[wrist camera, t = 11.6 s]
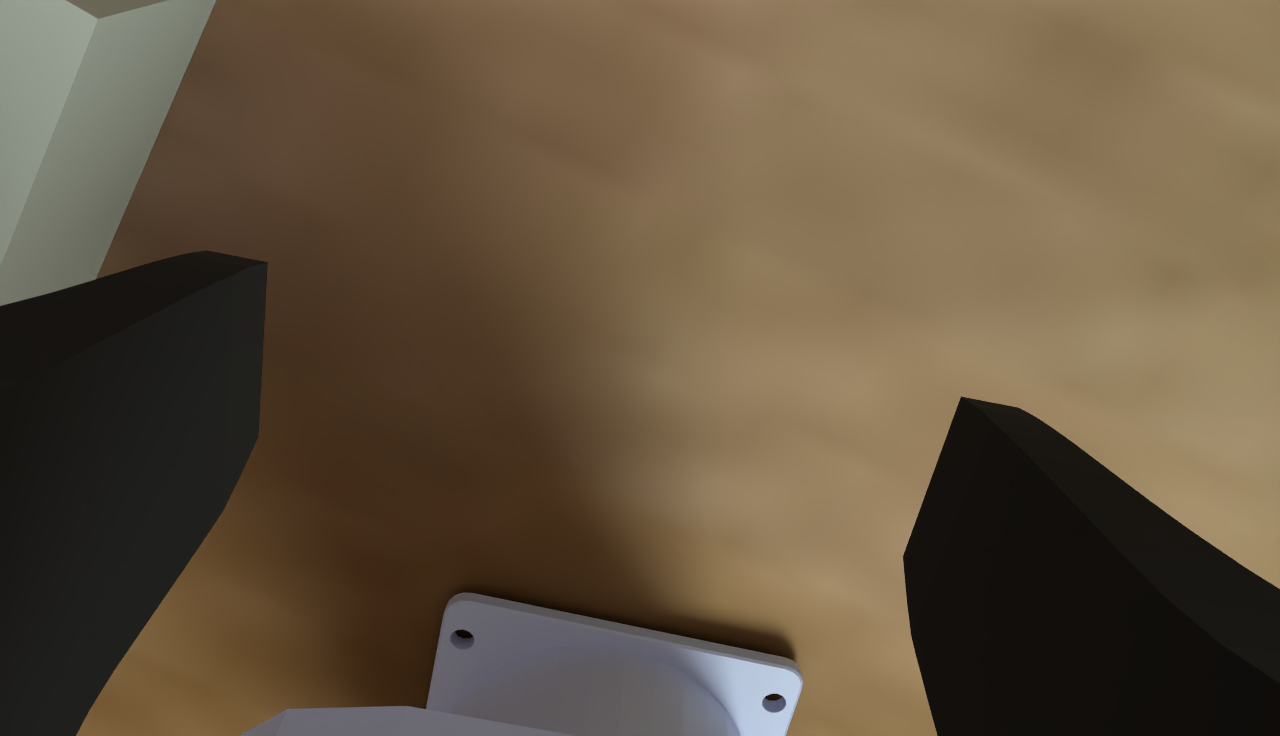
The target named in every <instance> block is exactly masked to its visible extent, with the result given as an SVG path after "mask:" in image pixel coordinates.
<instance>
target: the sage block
mask: <svg viewBox="0 0 1280 736" xmlns="http://www.w3.org/2000/svg"><path fill="white" fill-rule="evenodd" d="M215 2H216V0H0V306H2V305H6V304H10V303H13V302H17V301H21V300H25V299H29V298H33V297H37V296H40V295H44V294H48V293H52V292H55V291H59V290H62V289H65V288H69V287H72V286H75V285H79V284H82V283H85V282H89V281H92V280H95V279H96V277H97V275H98V273H99V270H100V268H101V266H102V263H103V261H104V259H105V256H106V254H107V252H108V249H109V247H110V245H111V243H112V240H113V238H114V236H115V233H116V231H117V229H118V226H119V224H120V222H121V219H122V217H123V215H124V212H125V210H126V208H127V206H128V203H129V201H130V199H131V196H132V194H133V192H134V189H135V187H136V185H137V182H138V180H139V178H140V175H141V173H142V171H143V169H144V166H145V164H146V162H147V159H148V157H149V155H150V152H151V150H152V148H153V145H154V143H155V141H156V138H157V136H158V134H159V132H160V129H161V127H162V125H163V122H164V120H165V118H166V115H167V113H168V111H169V108H170V106H171V104H172V101H173V99H174V97H175V95H176V92H177V90H178V88H179V85H180V83H181V81H182V78H183V76H184V74H185V71H186V69H187V67H188V64H189V62H190V60H191V58H192V55H193V53H194V51H195V48H196V46H197V44H198V41H199V39H200V37H201V34H202V32H203V30H204V27H205V25H206V23H207V21H208V18H209V16H210V14H211V11H212V9H213V7H214V4H215Z"/></svg>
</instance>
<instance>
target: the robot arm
mask: <svg viewBox="0 0 1280 736" xmlns="http://www.w3.org/2000/svg"><path fill="white" fill-rule="evenodd" d="M267 263H268V262H263V261H258V260H253V259H248V258H242V257H237V256H232V255H227V254H222V253H217V252H211V251H201V252H193V253H188V254H183V255H179V256H174V257H170V258H167V259H163V260H159V261H156V262H152V263H149V264H145V265H142V266H139V267H135V268H132V269H129V270H125V271H122V272H119V273H115V274H112V275H109V276H105V277H102V278H99V279H95V280H92V281H89V282H85V283H82V284H79V285H75V286H72V287H69V288H65V289H62V290H59V291H55V292H52V293H48V294H44V295H40V296H37V297H33V298H29V299H25V300H21V301H17V302H13V303H10V304H6V305H2V306H0V736H76V734H77V733H78V731H79V729H80V727H81V725H82V723H83V721H84V719H85V717H86V716H87V714H88V712H89V710H90V708H91V707H92V705H93V704H94V702H95V700H96V699H97V697H98V695H99V694H100V692H101V691H102V689H103V687H104V686H105V684H106V683H107V681H108V679H109V678H110V676H111V674H112V673H113V671H114V670H115V668H116V667H117V665H118V664H119V663H120V661H121V660H122V658H123V657H124V655H125V654H126V652H127V651H128V649H129V648H130V647H131V645H132V644H133V642H134V641H135V639H136V638H137V636H138V635H139V633H140V632H141V631H142V629H143V628H144V626H145V625H146V623H147V622H148V620H149V619H150V618H151V616H152V615H153V613H154V612H155V610H156V609H157V607H158V606H159V604H160V603H161V602H162V600H163V599H164V597H165V596H166V594H167V593H168V591H169V590H170V589H171V587H172V586H173V584H174V583H175V581H176V580H177V578H178V577H179V576H180V574H181V573H182V571H183V570H184V568H185V567H186V565H187V564H188V562H189V561H190V559H191V558H192V556H193V555H194V553H195V552H196V551H197V549H198V548H199V546H200V545H201V543H202V542H203V540H204V539H205V537H206V536H207V534H208V533H209V531H210V530H211V528H212V527H213V525H214V524H215V522H216V521H217V519H218V518H219V516H220V515H221V513H222V512H223V510H224V508H225V506H226V504H227V502H228V500H229V498H230V496H231V494H232V492H233V490H234V488H235V486H236V484H237V482H238V479H239V477H240V475H241V473H242V471H243V469H244V467H245V464H246V462H247V460H248V458H249V456H250V453H251V451H252V449H253V447H254V445H255V442H256V440H257V438H258V432H259V413H260V394H261V376H262V357H263V338H264V320H265V301H266V282H267ZM903 561H904V572H905V584H906V595H907V605H908V613H909V621H910V629H911V636H912V641H913V645H914V649H915V653H916V657H917V661H918V664H919V668H920V672H921V676H922V680H923V683H924V687H925V691H926V695H927V699H928V702H929V706H930V710H931V713H932V717H933V721H934V724H935V728H936V732H937V735H938V736H1280V589H1279V588H1277V587H1275V586H1274V585H1272V584H1271V583H1269V582H1267V581H1266V580H1264V579H1263V578H1261V577H1259V576H1258V575H1256V574H1255V573H1253V572H1251V571H1250V570H1248V569H1247V568H1245V567H1244V566H1242V565H1241V564H1239V563H1238V562H1236V561H1235V560H1233V559H1232V558H1230V557H1229V556H1227V555H1226V554H1224V553H1223V552H1222V551H1220V550H1219V549H1217V548H1216V547H1214V546H1213V545H1211V544H1210V543H1208V542H1207V541H1205V540H1204V539H1202V538H1201V537H1199V536H1198V535H1197V534H1195V533H1194V532H1192V531H1191V530H1189V529H1188V528H1187V527H1185V526H1184V525H1182V524H1181V523H1180V522H1178V521H1177V520H1175V519H1174V518H1173V517H1171V516H1170V515H1168V514H1167V513H1166V512H1164V511H1163V510H1162V509H1160V508H1159V507H1158V506H1156V505H1155V504H1153V503H1152V502H1151V501H1149V500H1148V499H1147V498H1145V497H1144V496H1143V495H1141V494H1140V493H1139V492H1137V491H1136V490H1135V489H1133V488H1132V487H1131V486H1129V485H1128V484H1127V483H1125V482H1124V481H1123V480H1122V479H1120V478H1119V477H1118V476H1116V475H1115V474H1114V473H1112V472H1111V471H1110V470H1108V469H1107V468H1106V467H1104V466H1103V465H1102V464H1100V463H1099V462H1098V461H1096V460H1095V459H1094V458H1093V457H1091V456H1090V455H1089V454H1087V453H1086V452H1085V451H1083V450H1082V449H1081V448H1079V447H1078V446H1077V445H1075V444H1074V443H1073V442H1071V441H1070V440H1068V439H1067V438H1066V437H1064V436H1063V435H1062V434H1060V433H1059V432H1057V431H1056V430H1054V429H1053V428H1052V427H1050V426H1049V425H1047V424H1046V423H1044V422H1043V421H1041V420H1040V419H1038V418H1036V417H1035V416H1033V415H1031V414H1029V413H1028V412H1026V411H1024V410H1022V409H1020V408H1017V407H1012V406H1007V405H1001V404H996V403H991V402H986V401H981V400H976V399H970V398H965V397H961V398H960V401H959V404H958V407H957V409H956V412H955V415H954V418H953V420H952V423H951V426H950V429H949V431H948V434H947V437H946V440H945V442H944V445H943V448H942V451H941V453H940V456H939V459H938V462H937V464H936V467H935V470H934V473H933V475H932V478H931V481H930V484H929V486H928V489H927V492H926V495H925V497H924V500H923V503H922V506H921V508H920V511H919V514H918V517H917V519H916V522H915V525H914V528H913V530H912V533H911V536H910V539H909V541H908V544H907V547H906V550H905V552H904V555H903ZM456 630H466V631H468V632H470V633H471V634H472V635H473V637H471V638H462V637H459V636H457V634H456V633H455V632H454V631H456ZM802 684H803V680H802V673H801V670H800V668H799V666H798V665H797V664H796V663H795V662H794V661H793V660H791V659H788V658H785V657H781V656H776V655H771V654H766V653H761V652H757V651H752V650H747V649H742V648H737V647H732V646H727V645H723V644H718V643H713V642H708V641H703V640H698V639H694V638H689V637H684V636H679V635H674V634H669V633H664V632H660V631H655V630H650V629H645V628H640V627H635V626H630V625H626V624H621V623H616V622H611V621H606V620H601V619H596V618H592V617H587V616H582V615H577V614H572V613H567V612H562V611H558V610H553V609H548V608H543V607H538V606H533V605H528V604H524V603H519V602H514V601H509V600H504V599H499V598H495V597H490V596H485V595H480V594H475V593H460V594H457V595H455V596H453V597H452V598H451V599H450V600H449V601H448V604H447V606H446V609H445V612H444V615H443V620H442V625H441V631H440V636H439V642H438V647H437V652H436V658H435V663H434V668H433V674H432V679H431V684H430V690H429V695H428V700H427V706H426V709H421V708H416V707H410V706H381V707H343V708H304V709H287V710H285V711H283V712H281V713H279V714H278V715H276V716H274V717H272V718H270V719H268V720H267V721H265V722H263V723H261V724H259V725H257V726H256V727H254V728H252V729H250V730H248V731H246V732H244V733H243V734H241V735H239V736H786V733H787V730H788V727H789V724H790V721H791V719H792V716H793V713H794V710H795V707H796V704H797V701H798V699H799V696H800V693H801V690H802ZM769 694H779V695H781V696H783V697H782V698H780V699H778V700H776V701H769V700H767V699H765V696H767V695H769Z"/></svg>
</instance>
